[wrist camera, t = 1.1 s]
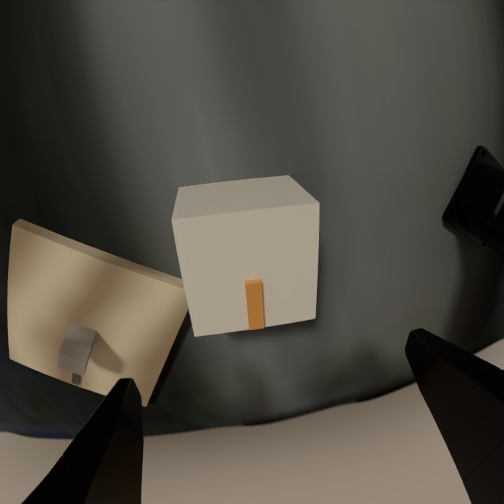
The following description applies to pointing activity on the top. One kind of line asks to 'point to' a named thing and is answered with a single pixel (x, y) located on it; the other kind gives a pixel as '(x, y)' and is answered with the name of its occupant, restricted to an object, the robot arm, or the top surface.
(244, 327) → the small white box
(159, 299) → the board
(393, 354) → the top surface
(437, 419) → the robot arm
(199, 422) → the top surface
